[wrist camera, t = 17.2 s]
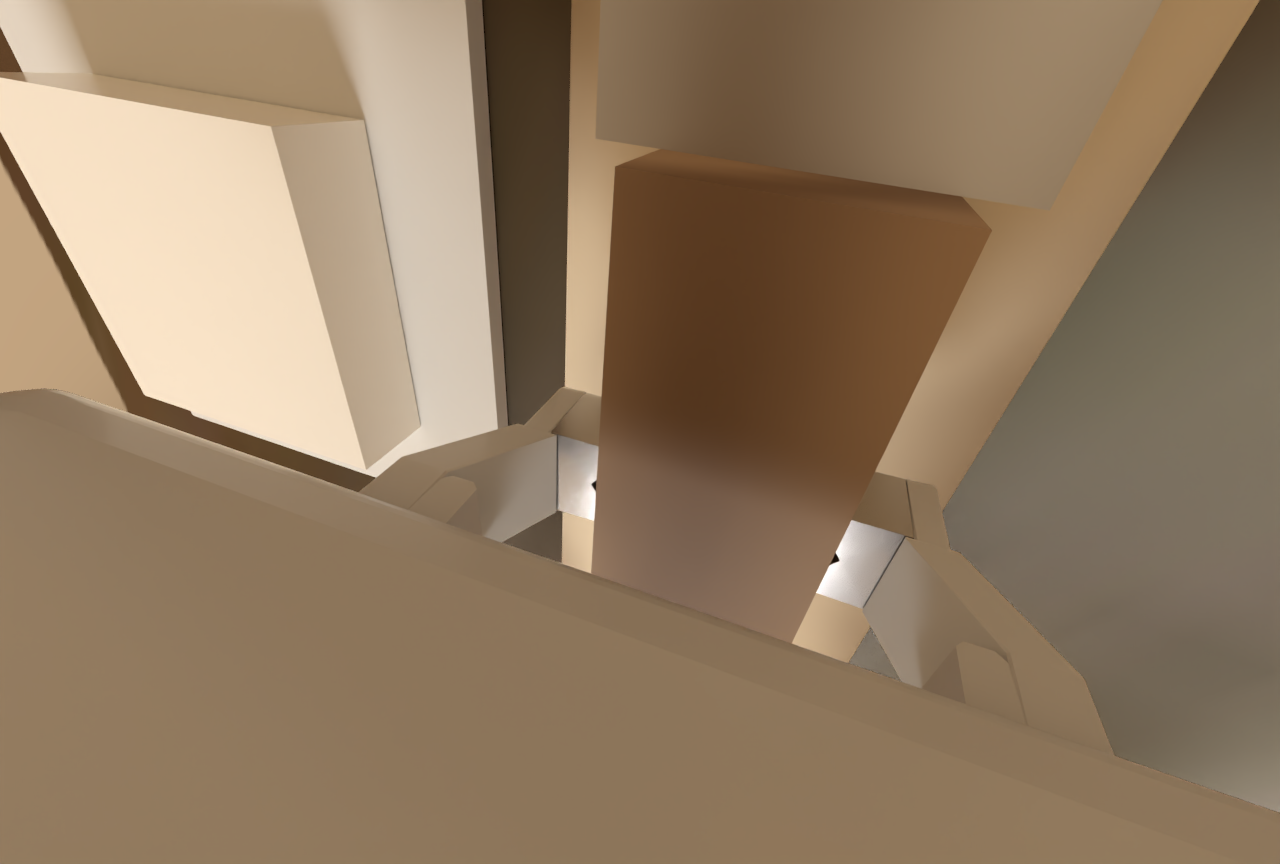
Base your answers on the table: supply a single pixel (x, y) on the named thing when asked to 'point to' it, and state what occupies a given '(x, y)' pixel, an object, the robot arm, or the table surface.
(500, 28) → the table surface
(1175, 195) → the table surface
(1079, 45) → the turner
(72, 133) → the tile
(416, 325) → the mat
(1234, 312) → the table surface
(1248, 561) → the table surface
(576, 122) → the board
